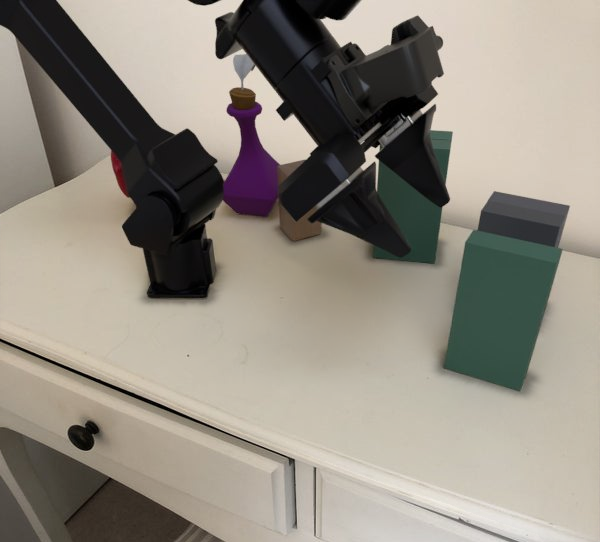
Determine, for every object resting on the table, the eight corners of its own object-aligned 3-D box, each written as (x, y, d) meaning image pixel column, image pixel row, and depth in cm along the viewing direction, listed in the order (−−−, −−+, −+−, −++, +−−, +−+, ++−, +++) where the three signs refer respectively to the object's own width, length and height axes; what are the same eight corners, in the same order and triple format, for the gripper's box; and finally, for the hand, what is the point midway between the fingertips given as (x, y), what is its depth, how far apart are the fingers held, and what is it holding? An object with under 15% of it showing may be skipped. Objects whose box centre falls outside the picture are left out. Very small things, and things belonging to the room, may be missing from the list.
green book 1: (372, 257, 73) (379, 144, 64) (375, 248, 75) (382, 135, 66) (434, 263, 72) (450, 148, 63) (435, 253, 74) (451, 140, 65)
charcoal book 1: (462, 310, 66) (480, 210, 58) (469, 299, 67) (487, 200, 59) (531, 328, 63) (560, 226, 56) (537, 316, 64) (565, 215, 57)
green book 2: (443, 368, 59) (465, 241, 50) (451, 354, 60) (473, 229, 52) (519, 391, 57) (556, 262, 48) (526, 376, 58) (562, 248, 49)
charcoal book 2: (468, 299, 67) (487, 200, 59) (475, 288, 68) (494, 190, 61) (536, 316, 64) (565, 215, 57) (541, 305, 66) (570, 205, 58)
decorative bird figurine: (118, 233, 79) (99, 152, 72) (143, 172, 92) (128, 98, 85) (142, 232, 79) (125, 152, 72) (163, 171, 92) (150, 98, 85)
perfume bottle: (276, 224, 80) (267, 67, 67) (219, 218, 81) (200, 64, 69) (291, 197, 85) (286, 47, 72) (238, 192, 86) (223, 44, 74)
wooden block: (307, 220, 80) (306, 157, 75) (322, 234, 78) (322, 170, 72) (278, 228, 79) (275, 164, 73) (292, 242, 76) (290, 177, 71)
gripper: (314, 14, 37) (472, 230, 40) (426, -43, 49) (541, 128, 52) (215, 132, 45) (354, 302, 49) (332, 59, 57) (436, 200, 60)
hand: (427, 228), depth 52 cm, fingers open, 9 cm apart
